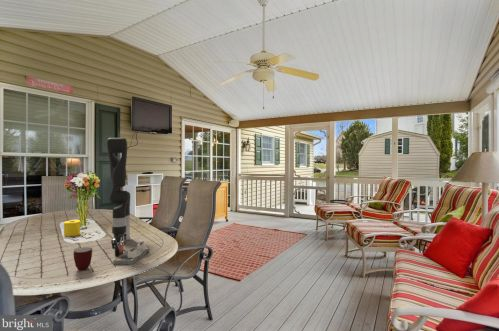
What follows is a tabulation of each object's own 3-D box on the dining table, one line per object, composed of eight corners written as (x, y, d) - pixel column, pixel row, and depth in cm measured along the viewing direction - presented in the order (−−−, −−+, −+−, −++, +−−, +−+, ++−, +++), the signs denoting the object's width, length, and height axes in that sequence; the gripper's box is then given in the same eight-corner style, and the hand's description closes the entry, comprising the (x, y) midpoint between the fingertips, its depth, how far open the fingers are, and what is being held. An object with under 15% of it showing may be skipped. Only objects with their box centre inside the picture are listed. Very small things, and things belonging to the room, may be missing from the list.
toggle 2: (137, 250, 162) (137, 242, 162) (139, 248, 165) (139, 241, 165) (143, 250, 162) (143, 243, 162) (146, 248, 165) (146, 241, 165)
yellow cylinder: (83, 232, 207) (83, 220, 207) (73, 236, 197) (73, 223, 197) (70, 232, 208) (70, 219, 208) (60, 236, 198) (60, 222, 198)
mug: (68, 268, 140) (68, 249, 140) (85, 264, 146) (85, 245, 146) (77, 274, 134) (77, 253, 133) (95, 268, 140) (95, 249, 140)
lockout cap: (113, 255, 160) (113, 245, 159) (117, 253, 164) (117, 243, 164) (120, 255, 159) (121, 246, 159) (124, 253, 164) (124, 243, 164)
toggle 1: (127, 257, 150) (127, 249, 150) (130, 255, 153) (130, 247, 153) (134, 258, 150) (135, 249, 150) (137, 255, 153) (137, 247, 153)
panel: (113, 264, 146) (113, 258, 146) (132, 250, 169) (132, 245, 168) (131, 264, 146) (131, 259, 146) (148, 250, 168) (148, 246, 168)
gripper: (119, 228, 154) (119, 258, 154) (131, 222, 168) (131, 250, 169) (106, 227, 154) (106, 258, 155) (119, 222, 169) (119, 249, 169)
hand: (119, 253), depth 162 cm, fingers closed on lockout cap, 4 cm apart
